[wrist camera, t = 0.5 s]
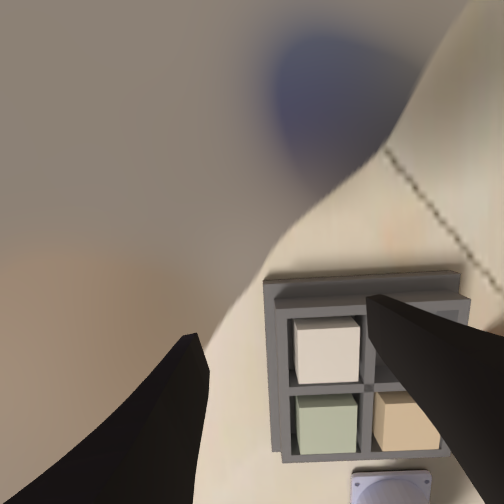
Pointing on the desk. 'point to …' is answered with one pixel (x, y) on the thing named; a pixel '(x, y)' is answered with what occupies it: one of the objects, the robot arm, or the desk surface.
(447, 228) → the desk surface
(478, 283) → the desk surface
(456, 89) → the desk surface
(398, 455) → the frame board
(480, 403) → the robot arm
